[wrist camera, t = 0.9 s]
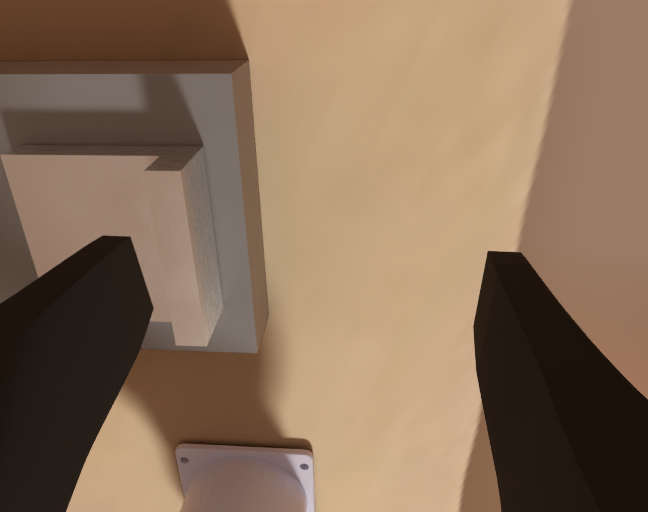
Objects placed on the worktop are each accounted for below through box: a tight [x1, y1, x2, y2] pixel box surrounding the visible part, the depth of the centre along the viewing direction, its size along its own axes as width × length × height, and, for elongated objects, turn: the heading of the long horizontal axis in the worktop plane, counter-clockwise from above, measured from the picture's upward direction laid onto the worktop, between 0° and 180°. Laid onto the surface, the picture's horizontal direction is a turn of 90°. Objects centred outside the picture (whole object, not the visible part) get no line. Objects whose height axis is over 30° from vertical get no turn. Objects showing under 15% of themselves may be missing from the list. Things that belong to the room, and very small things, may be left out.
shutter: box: [0, 145, 224, 347], centre depth 20 cm, size 7×7×3 cm
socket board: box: [0, 60, 269, 353], centre depth 23 cm, size 12×14×3 cm
